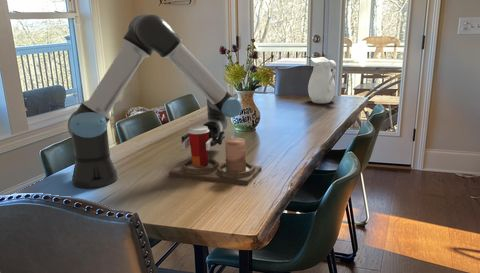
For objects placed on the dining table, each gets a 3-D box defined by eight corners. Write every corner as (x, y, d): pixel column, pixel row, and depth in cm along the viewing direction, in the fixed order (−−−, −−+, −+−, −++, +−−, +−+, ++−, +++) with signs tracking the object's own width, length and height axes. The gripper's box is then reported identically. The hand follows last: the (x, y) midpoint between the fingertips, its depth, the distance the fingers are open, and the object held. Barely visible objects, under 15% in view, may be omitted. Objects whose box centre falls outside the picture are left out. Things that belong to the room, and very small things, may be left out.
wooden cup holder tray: (247, 184, 150) (246, 148, 146) (168, 176, 160) (166, 141, 157) (261, 170, 163) (260, 136, 160) (188, 163, 173) (186, 131, 170)
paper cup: (211, 161, 167) (209, 124, 163) (210, 167, 159) (208, 129, 156) (190, 161, 167) (188, 125, 163) (188, 168, 159) (186, 130, 155)
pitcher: (303, 100, 291) (303, 57, 283) (326, 98, 295) (327, 56, 288) (320, 107, 269) (321, 60, 261) (345, 105, 273) (347, 59, 266)
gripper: (236, 139, 177) (224, 157, 155) (187, 138, 181) (168, 155, 159) (236, 121, 175) (223, 136, 153) (185, 120, 179) (166, 135, 157)
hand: (195, 146), depth 156 cm, fingers closed on paper cup, 8 cm apart
